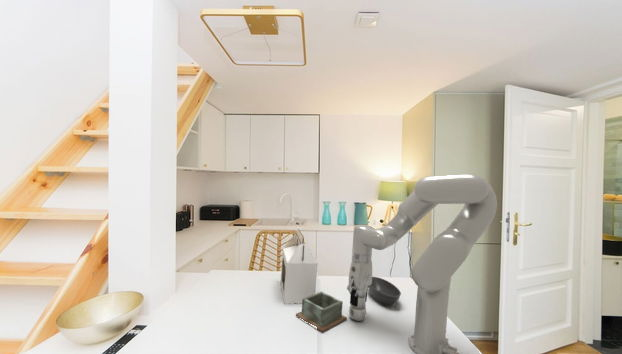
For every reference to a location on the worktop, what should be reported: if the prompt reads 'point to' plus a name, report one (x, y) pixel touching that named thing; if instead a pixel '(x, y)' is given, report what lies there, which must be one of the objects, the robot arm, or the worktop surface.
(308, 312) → the bottle holder
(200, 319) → the worktop surface
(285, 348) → the worktop surface
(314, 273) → the gable box
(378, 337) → the worktop surface
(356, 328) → the worktop surface
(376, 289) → the bowl
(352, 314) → the silver bottle
